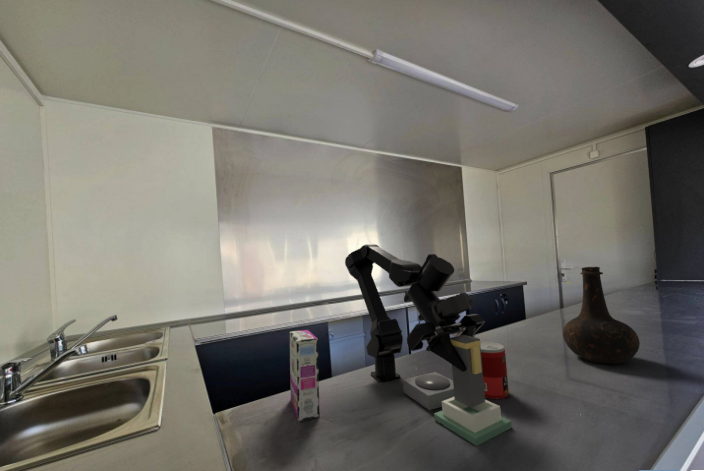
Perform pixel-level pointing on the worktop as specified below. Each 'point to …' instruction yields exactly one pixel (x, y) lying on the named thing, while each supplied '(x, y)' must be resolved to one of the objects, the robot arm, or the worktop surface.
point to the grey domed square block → (429, 389)
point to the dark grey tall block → (468, 371)
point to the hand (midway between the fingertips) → (472, 368)
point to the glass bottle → (599, 327)
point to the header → (473, 420)
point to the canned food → (494, 370)
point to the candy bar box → (304, 374)
